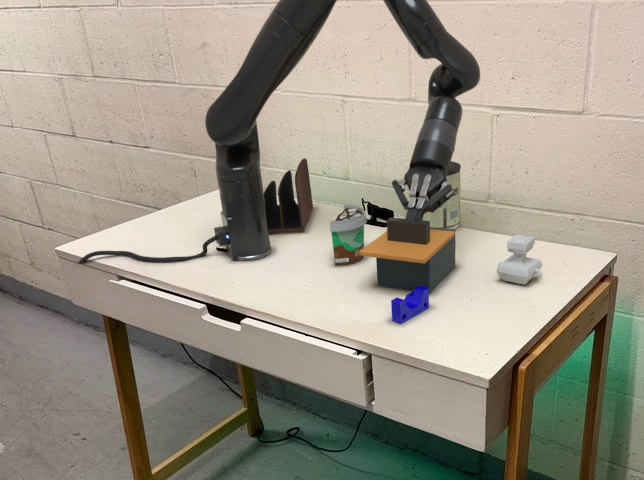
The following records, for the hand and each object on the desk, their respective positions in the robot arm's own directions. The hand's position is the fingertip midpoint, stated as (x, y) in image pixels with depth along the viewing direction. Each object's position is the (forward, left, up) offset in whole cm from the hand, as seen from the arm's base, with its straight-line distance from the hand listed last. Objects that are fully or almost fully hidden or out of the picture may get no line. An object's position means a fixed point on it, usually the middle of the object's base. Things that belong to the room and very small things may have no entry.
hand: (411, 229), depth 132 cm
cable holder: (-7, -13, -11) cm, 18 cm away
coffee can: (+21, +28, -11) cm, 36 cm away
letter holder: (-9, +51, -11) cm, 53 cm away
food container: (-5, +18, -11) cm, 21 cm away
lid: (-1, -1, -3) cm, 3 cm away
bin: (+2, +2, -11) cm, 11 cm away
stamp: (+18, -10, -11) cm, 23 cm away
